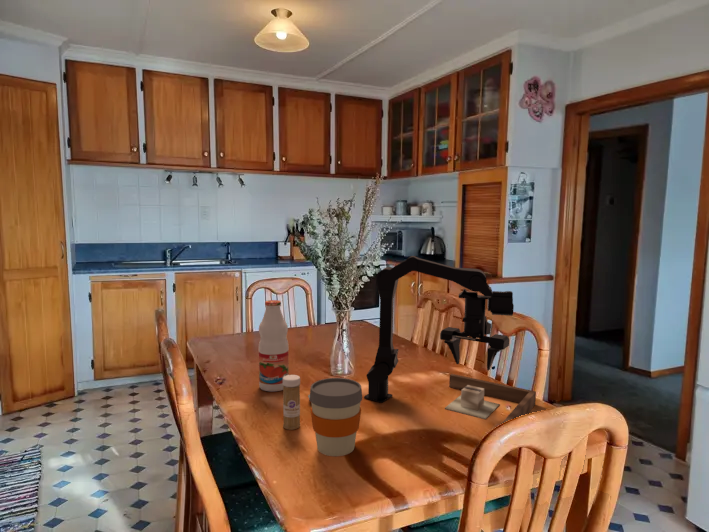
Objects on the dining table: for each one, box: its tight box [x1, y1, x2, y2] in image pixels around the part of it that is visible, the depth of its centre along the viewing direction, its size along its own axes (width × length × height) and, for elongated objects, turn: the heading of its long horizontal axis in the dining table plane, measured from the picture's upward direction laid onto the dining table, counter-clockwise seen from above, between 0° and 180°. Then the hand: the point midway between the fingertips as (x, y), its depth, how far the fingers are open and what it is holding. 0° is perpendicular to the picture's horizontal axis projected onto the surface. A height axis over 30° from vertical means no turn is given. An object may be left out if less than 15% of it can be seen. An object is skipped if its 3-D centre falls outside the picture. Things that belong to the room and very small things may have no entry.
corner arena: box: [444, 373, 537, 425], centre depth 136 cm, size 28×26×4 cm
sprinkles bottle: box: [282, 374, 301, 431], centre depth 124 cm, size 5×5×14 cm
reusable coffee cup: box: [309, 377, 363, 457], centre depth 113 cm, size 13×12×15 cm
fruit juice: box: [258, 299, 290, 393], centre depth 152 cm, size 9×9×28 cm
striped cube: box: [460, 385, 485, 411], centre depth 138 cm, size 5×5×5 cm
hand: (472, 366), depth 137 cm, fingers open, 9 cm apart
